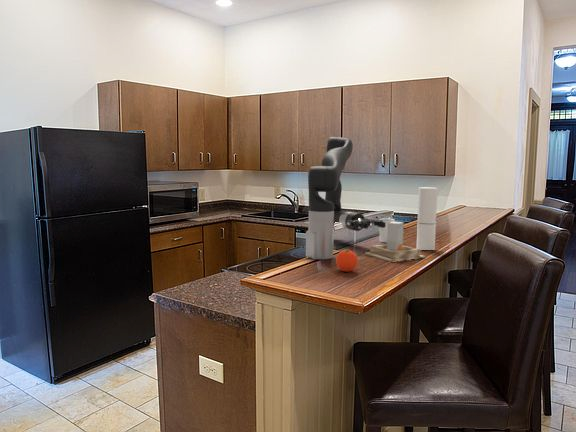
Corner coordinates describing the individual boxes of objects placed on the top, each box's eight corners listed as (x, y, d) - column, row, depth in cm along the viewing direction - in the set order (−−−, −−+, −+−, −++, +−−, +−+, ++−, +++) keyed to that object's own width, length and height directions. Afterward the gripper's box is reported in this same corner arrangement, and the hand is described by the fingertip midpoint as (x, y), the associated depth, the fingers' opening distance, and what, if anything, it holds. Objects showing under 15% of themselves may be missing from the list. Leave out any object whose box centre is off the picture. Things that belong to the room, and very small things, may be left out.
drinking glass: (395, 242, 198) (396, 220, 197) (380, 242, 199) (380, 220, 197) (392, 240, 205) (392, 218, 204) (377, 240, 205) (378, 218, 204)
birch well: (391, 262, 159) (391, 253, 158) (364, 254, 172) (365, 246, 171) (425, 258, 166) (425, 249, 166) (397, 251, 179) (397, 242, 179)
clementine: (331, 268, 148) (332, 247, 147) (351, 267, 150) (351, 246, 149) (340, 274, 140) (340, 252, 139) (361, 273, 142) (361, 251, 141)
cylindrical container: (436, 248, 185) (439, 187, 182) (431, 251, 179) (435, 188, 176) (419, 247, 189) (421, 187, 186) (414, 249, 183) (416, 187, 180)
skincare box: (397, 256, 165) (398, 223, 164) (386, 254, 168) (387, 222, 166) (402, 253, 170) (404, 222, 169) (391, 252, 173) (393, 221, 171)
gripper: (338, 212, 188) (361, 216, 174) (365, 211, 195) (390, 215, 180) (337, 230, 189) (361, 236, 174) (365, 228, 195) (390, 234, 181)
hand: (376, 225), depth 177 cm, fingers open, 8 cm apart
